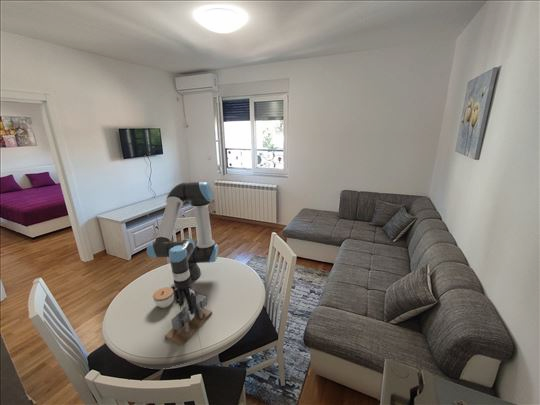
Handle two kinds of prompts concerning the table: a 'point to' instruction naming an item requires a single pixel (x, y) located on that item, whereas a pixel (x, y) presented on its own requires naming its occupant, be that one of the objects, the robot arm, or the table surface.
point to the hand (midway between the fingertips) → (188, 316)
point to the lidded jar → (163, 297)
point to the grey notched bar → (184, 316)
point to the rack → (188, 327)
